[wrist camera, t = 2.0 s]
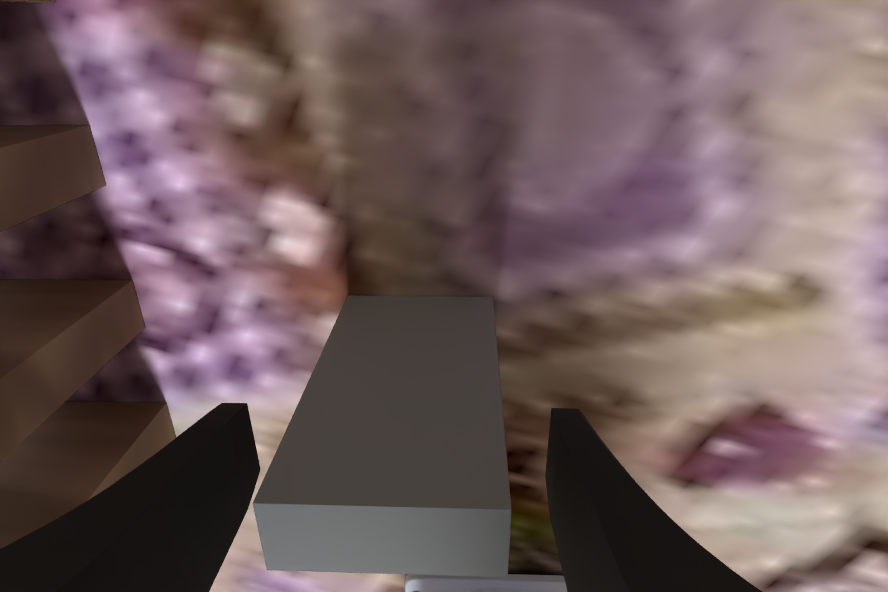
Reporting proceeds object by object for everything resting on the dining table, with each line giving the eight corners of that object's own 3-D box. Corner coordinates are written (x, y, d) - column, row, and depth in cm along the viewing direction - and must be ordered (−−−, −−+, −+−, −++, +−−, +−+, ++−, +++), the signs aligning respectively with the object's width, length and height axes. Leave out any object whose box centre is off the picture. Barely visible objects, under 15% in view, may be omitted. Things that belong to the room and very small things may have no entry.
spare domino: (491, 343, 19) (507, 577, 11) (352, 342, 19) (266, 570, 11) (493, 296, 18) (511, 510, 10) (347, 295, 18) (252, 503, 10)
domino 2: (177, 440, 22) (-1, 690, 13) (56, 438, 22) (-190, 683, 14) (166, 402, 21) (-29, 642, 13) (41, 400, 21) (-230, 636, 13)
